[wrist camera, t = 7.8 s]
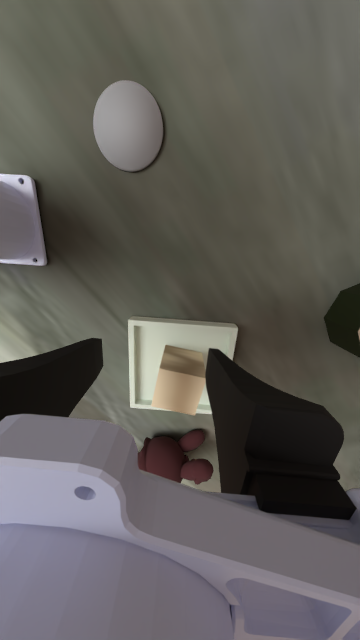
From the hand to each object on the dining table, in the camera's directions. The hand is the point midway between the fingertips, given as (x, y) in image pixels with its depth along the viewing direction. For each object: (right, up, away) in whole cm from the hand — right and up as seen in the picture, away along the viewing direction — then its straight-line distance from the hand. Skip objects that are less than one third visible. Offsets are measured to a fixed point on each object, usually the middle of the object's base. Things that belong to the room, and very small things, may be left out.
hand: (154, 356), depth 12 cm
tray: (+2, -3, +11) cm, 11 cm away
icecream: (-1, -16, +15) cm, 22 cm away
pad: (-3, +19, +4) cm, 20 cm away
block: (+2, -3, +10) cm, 11 cm away
